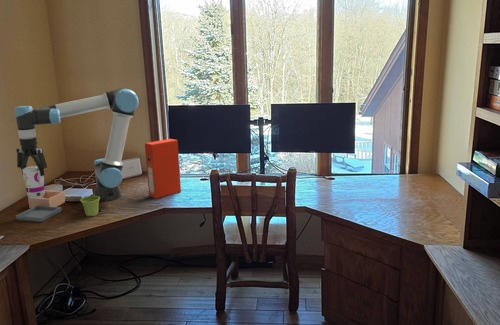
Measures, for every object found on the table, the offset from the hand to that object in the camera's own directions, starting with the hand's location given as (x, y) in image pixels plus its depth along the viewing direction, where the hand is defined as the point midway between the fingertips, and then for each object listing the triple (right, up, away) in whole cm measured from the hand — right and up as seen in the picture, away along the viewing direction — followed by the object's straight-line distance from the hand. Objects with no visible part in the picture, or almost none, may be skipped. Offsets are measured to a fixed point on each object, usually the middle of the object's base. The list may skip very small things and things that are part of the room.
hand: (34, 181), depth 206 cm
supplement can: (0, -8, +2) cm, 8 cm away
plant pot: (+27, -18, +6) cm, 33 cm away
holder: (-3, -14, +20) cm, 25 cm away
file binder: (+59, -9, +36) cm, 70 cm away
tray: (0, -18, +5) cm, 19 cm away
